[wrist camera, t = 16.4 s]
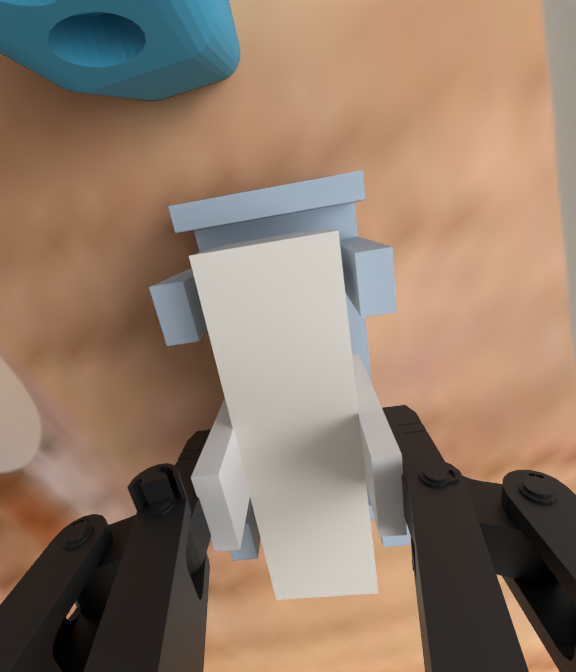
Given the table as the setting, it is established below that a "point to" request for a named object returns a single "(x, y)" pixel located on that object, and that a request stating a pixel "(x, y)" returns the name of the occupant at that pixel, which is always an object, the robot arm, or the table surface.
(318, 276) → the white rectangular bar
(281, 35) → the table surface
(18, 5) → the block
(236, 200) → the rack
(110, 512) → the table surface
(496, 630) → the robot arm
